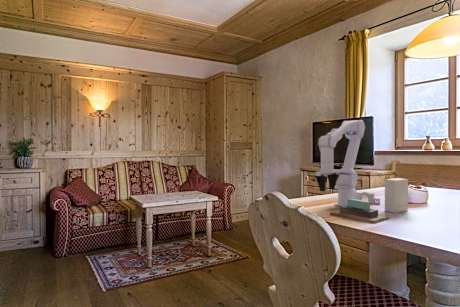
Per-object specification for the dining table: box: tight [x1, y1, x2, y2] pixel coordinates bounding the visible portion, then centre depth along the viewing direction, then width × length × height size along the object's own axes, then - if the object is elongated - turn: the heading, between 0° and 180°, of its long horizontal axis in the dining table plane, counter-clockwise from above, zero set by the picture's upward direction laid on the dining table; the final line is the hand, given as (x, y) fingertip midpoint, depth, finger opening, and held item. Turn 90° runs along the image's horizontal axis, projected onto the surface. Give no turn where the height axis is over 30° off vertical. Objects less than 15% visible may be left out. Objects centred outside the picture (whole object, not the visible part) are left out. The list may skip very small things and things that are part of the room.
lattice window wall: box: [357, 191, 381, 205], centre depth 162 cm, size 12×2×6 cm, turn 50°
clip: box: [347, 199, 371, 211], centre depth 133 cm, size 2×9×6 cm, turn 37°
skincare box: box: [384, 177, 409, 214], centre depth 142 cm, size 8×6×15 cm
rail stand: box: [329, 205, 390, 224], centre depth 133 cm, size 12×20×4 cm, turn 37°
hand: (327, 190), depth 146 cm, fingers open, 7 cm apart
